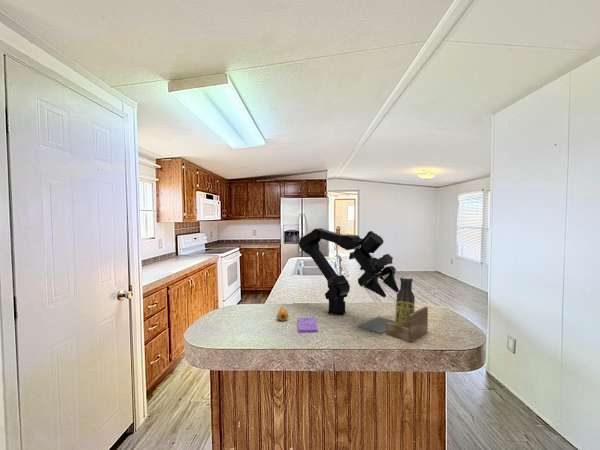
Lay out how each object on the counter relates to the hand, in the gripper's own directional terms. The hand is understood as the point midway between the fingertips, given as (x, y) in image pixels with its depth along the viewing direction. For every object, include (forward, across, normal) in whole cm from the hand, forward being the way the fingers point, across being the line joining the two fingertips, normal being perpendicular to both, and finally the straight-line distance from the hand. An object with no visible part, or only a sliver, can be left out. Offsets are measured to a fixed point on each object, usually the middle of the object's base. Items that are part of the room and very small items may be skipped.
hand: (391, 294), depth 111 cm
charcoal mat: (+6, 0, +13) cm, 14 cm away
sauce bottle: (+13, 0, +6) cm, 14 cm away
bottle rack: (+13, 0, +6) cm, 14 cm away
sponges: (-7, -20, +26) cm, 34 cm away
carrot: (-20, -17, +38) cm, 47 cm away
